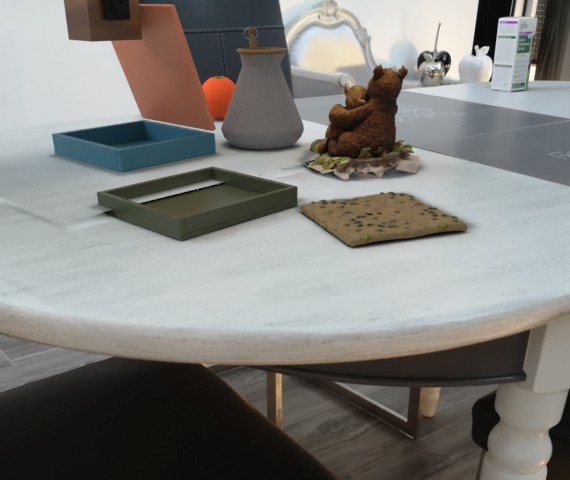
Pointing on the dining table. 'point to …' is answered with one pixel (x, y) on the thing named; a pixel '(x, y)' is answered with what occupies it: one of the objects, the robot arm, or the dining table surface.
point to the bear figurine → (365, 131)
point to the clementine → (218, 95)
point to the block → (100, 22)
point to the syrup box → (513, 53)
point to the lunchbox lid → (164, 70)
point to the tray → (198, 202)
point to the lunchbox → (134, 145)
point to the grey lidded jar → (261, 101)
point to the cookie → (380, 218)
